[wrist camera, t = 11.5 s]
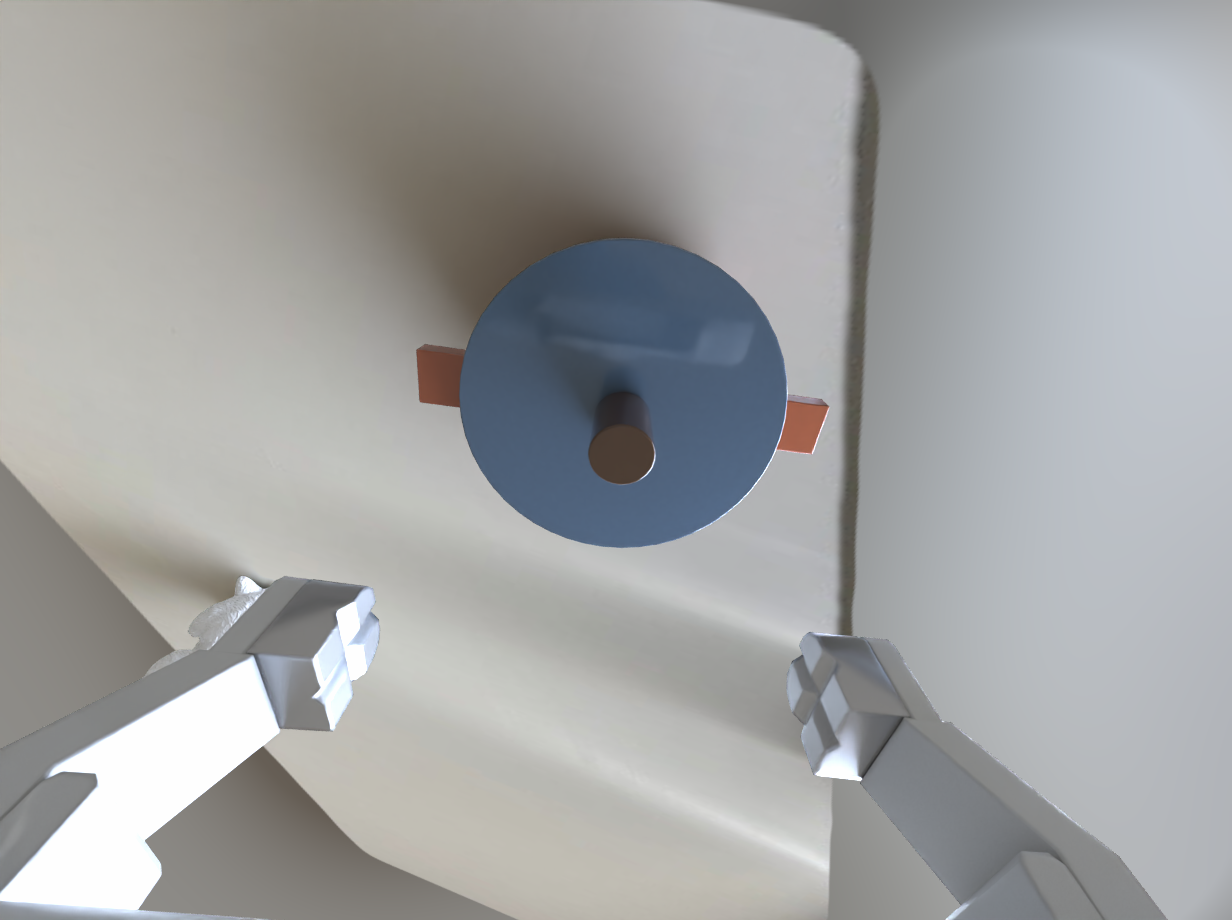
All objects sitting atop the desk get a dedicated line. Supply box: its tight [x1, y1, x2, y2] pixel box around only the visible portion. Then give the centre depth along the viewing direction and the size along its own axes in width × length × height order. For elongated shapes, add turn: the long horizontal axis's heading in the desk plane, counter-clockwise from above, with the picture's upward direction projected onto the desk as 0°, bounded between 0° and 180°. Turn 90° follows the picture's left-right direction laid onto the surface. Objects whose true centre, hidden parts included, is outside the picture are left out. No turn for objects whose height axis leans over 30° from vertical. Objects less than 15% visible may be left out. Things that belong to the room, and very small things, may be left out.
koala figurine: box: [144, 576, 268, 677], centre depth 32 cm, size 8×7×12 cm
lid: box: [459, 238, 787, 548], centre depth 18 cm, size 14×14×5 cm
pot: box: [416, 344, 829, 454], centre depth 24 cm, size 13×18×8 cm
